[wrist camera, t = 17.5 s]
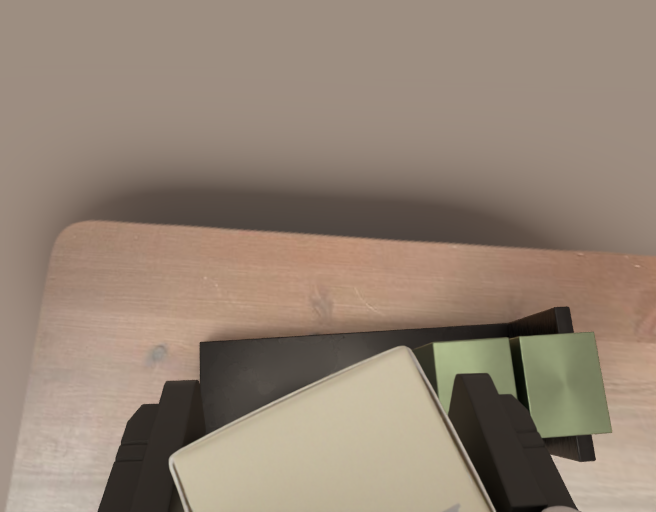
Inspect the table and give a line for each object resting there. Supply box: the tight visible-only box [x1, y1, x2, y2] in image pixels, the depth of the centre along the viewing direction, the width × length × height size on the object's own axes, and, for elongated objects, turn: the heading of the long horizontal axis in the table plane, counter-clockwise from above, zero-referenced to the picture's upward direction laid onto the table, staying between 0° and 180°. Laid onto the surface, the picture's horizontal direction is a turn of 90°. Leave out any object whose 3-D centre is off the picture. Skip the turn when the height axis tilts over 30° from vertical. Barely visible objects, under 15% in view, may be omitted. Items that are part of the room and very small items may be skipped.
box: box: [169, 346, 496, 512], centre depth 16 cm, size 5×4×13 cm
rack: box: [200, 307, 612, 462], centre depth 34 cm, size 24×9×14 cm, turn 94°
